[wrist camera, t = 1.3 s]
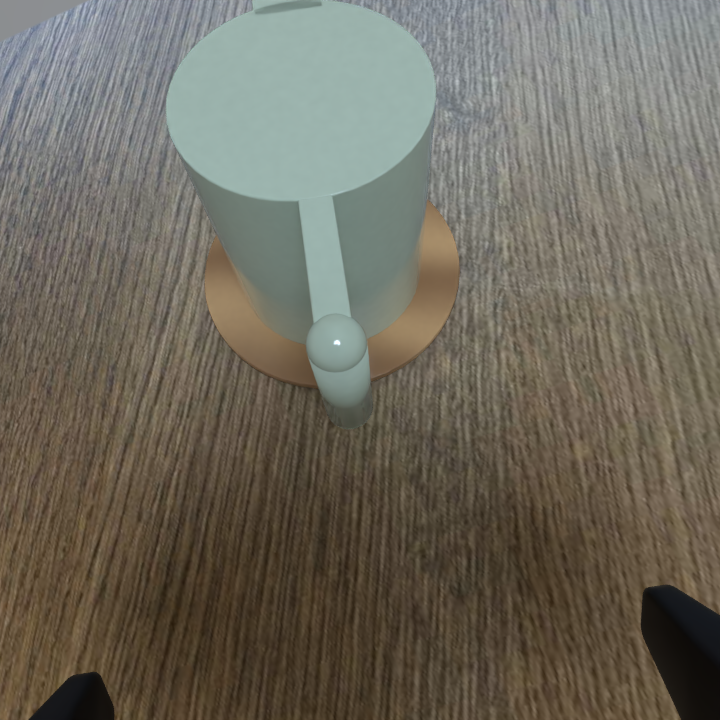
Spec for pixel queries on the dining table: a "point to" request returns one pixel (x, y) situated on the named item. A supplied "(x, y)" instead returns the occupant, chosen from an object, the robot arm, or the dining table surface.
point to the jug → (313, 174)
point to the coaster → (383, 348)
